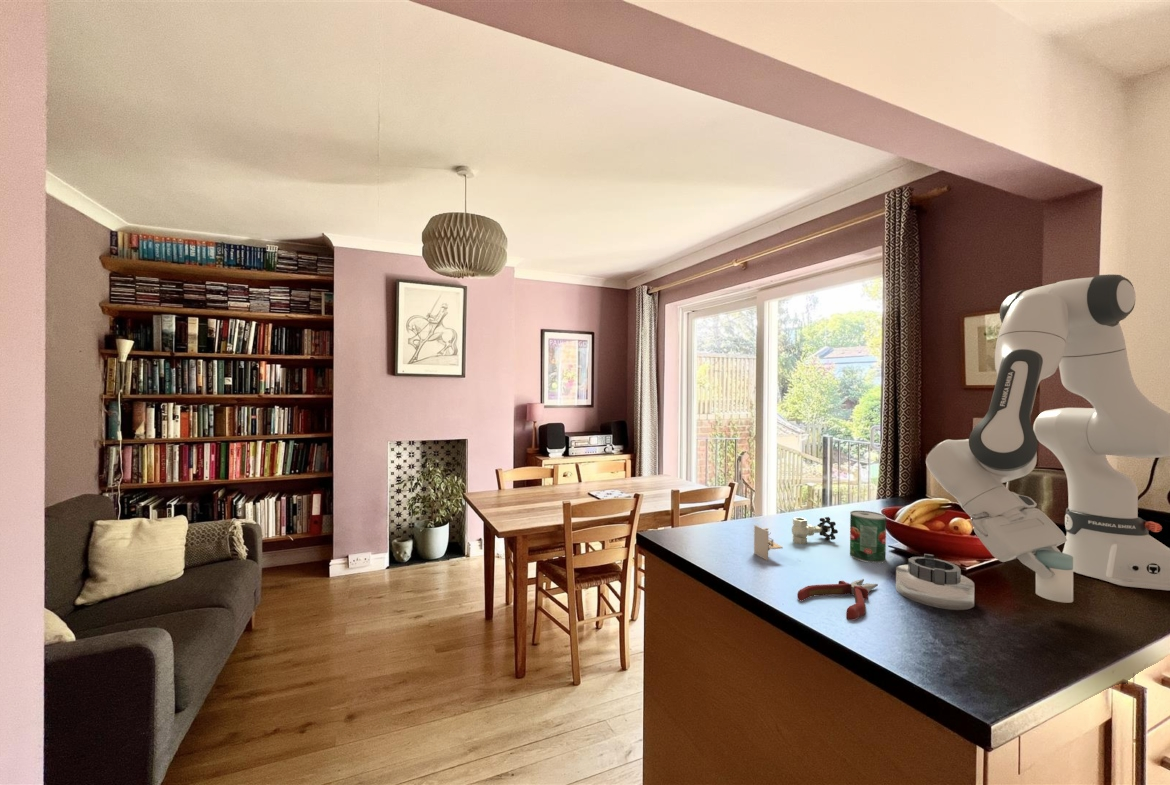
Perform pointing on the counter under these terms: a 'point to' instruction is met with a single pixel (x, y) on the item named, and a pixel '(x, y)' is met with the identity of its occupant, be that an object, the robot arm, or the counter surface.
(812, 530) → the valve
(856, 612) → the pliers
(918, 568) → the ringed white base
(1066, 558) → the jar with teal lid
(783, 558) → the counter surface
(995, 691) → the counter surface
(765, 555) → the architectural model
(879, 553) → the canned tomato
